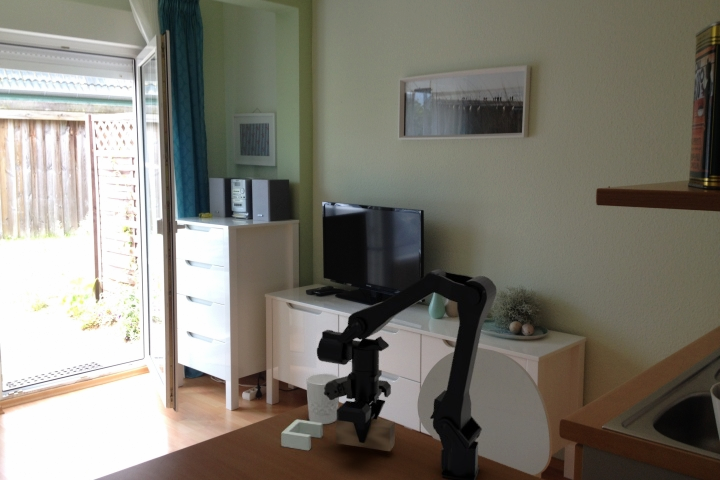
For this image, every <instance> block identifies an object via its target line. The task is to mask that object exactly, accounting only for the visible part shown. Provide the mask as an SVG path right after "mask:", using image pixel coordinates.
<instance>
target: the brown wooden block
mask: <svg viewBox="0 0 720 480" xmlns="http://www.w3.org/2000/svg"><path fill="white" fill-rule="evenodd" d="M395 422H396V421H391V420H384V419H373V421H372V424H371V427H370V429H369V432H368V435H367V438H366V440H365V442H364V443H360V442H359V439H358V436H357V433H356V430H355V426H354V424H353V422H346V421H339V420H336V421H335V443H336V444H340V445H347V446H353V447H360V448H367V449H372V450H373V449H374V450H380V451H385V452H386V451H387V452H391V450H392V449H393V447H394V446H395V443H396V441H395V440H396V439H395V436H396V435H395V434H396V432H395V431H396V430H395V429H396V428H395V427H396V423H395Z"/></svg>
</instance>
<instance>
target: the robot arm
mask: <svg viewBox="0 0 720 480" xmlns="http://www.w3.org/2000/svg"><path fill="white" fill-rule="evenodd" d="M434 293H435V294H438V295H439V296H441V297H443V298H445V299H446V300H449V301H451V302H455V303H456V311H457V316H458V323H459V325H458V331H457V334H456V335H457V336H456V339H455V346H454V352H453V356H452V359H451V366H450V371H449V377H448V381H447V385H446V386H447V387H446V390H443V391H442V392H441V393H439V395H438V396H436V397H435V398H434V400H433V411H432V413H431V416H429V418H430V419H431V420H432V427H433V430H435V432H436V434H437V435H438V436H439V439H440V444H441V446H442V448H441V452H440V470H441V471H442V472H441V477H442V478H446V479H447V478H448V479H452V480H453V479H454V480H476V478H477V476H478V473H479V470H480V465H478V463H479V461H478V460H479V441H476V440H477V439H478V438H479V437H480V435H481V433H482V431H483V428H482V427H481V426H480V424H479V423H478V422H477V421H476V420H475V419H474V417H473V416H472V401H471V395H470V389H471V388H470V387H471V384H472V379H473V374H474V368H475V365H476V364H475V363H476V358H477V354H478V349H479V348H478V347H479V343H480V338H481V333H482V330H483V329H482V328H483V325H484V322H485V320H486V319H487V317H488V315H489V313H490V311H491V308H492V306H493V303H494V301H495V298H496V296H497V287H496V285H495V283H494V282H493V280H492V279H490V278H489V277H487V276H484V275H479V276H471V275H466V274H460V273H453V272H450V271H445V270H442V269H440V268H439V269H434V270H431V271H429V272H427V273H426V274H425V275H424V276H423V277H422V278H419V279H418V280H416V281H415V282H413V283H411V284H410V285H408V286H407V287H404V289H402V290H400V291H398V292H397V293H395V294H393V295H392V296H390V297H389V298H387V299H386V300H384V301H381V302H377V303H375V304H373V305H372V304H371V305H370V306H367V307H364V308H362V309H360V310H357V311H355V312H353V313H351V314H350V315H349V316H348V318H347V326H346V327H345V328H344V329H343V331H342V332H339V331H334V330H331V329H326V330H324V331H322V332H321V338H320V339H319V342H318V345H317V348H316V356H317V359H318V360H319V361H321V362H325V363H330V364H338V365H343V366H344V365H347V364H348V363H349V362H350V361H351V371H350V372H349V374H348V375H346V376H342V377H339V378H338V379H334V380H332V381H329V382H327V383H326V385H325V387H324V389H325V392H324V395H326V396H327V397H328V398H329V400H334V399H335V398H338V397H339V398H342V397H345V396H346V399H348V400H345V401H344V402H343V403H342V405H340V406H338V409H337V420H339V421H346V422H353V424H354V426H355V430H356V433H357V436H358V439H359V442H360V443H364V442H365V440H366V438H367V435H368V432H369V429H370V427H371V424H372V421H373V419H378V418H379V416H380V414H381V411H382V409H383V408H384V405H385V403H386V400H385V399H380V396H381V395H382V394H383V396H384V397H385V398H388V397H389V396H390V395H391V393H392V389H391V388H392V385H391V383H389V382H388V381H387V380H380V379H379V378H380V377H382V373H383V371H382V370H381V369H380V352H382V351H384V350H386V349H387V348H389V346H390V345H389V343H388V342H387V341H385V340H384V339H383V336H379V337H377V338H375V339H372V338H369V337H372V335H375V334H377V333H378V332H380V331H382V329H383V328H385V326H387V325H388V324H389V323H390V322H392V320H393V318H395V317H396V316H397V315H398V314H401V313H402V312H403V311H405V310H407V309H409V308H410V307H412V306H414V305H415V304H417V303H419V302H420V301H423V300H424V299H426V298H427V297H429V296H431V295H433V294H434ZM355 339H358V340H355ZM350 400H353V401H350ZM378 420H379V419H378Z"/></svg>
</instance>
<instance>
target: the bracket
mask: <svg viewBox="0 0 720 480" xmlns="http://www.w3.org/2000/svg"><path fill="white" fill-rule="evenodd" d="M323 426H324V424H323V423H318V422H311V421H310V420H303V419H295V420H294V421H293V422H292V423H291V424H290V425H288V426H287V427H286V428H285V429H283V431H282V432H281V434H280V439H281V442H280V443H281V444H280V446H281V447H285V448H291V449H295V450H297V449H298V450H303V451H310V450H311V448H312V441H311V440H312V438H318V439H322V437H323V436H324V435H323V434H324V433H323V428H324V427H323Z"/></svg>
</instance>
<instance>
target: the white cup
mask: <svg viewBox="0 0 720 480" xmlns="http://www.w3.org/2000/svg"><path fill="white" fill-rule="evenodd" d="M338 378H340V377H339V376H338V375H336V374H333V373H316V374H314V373H313V374H311V375H309V376H307V377H306V395H307V397H306V399H307V409H308V421H311V422H318V423H323V425H328V424H332V423H334V422H335V423H336V420H337V409H338V408H339V399H340V397H338V398H335V399H334V400H329V398H328V397H327V396H326V395H324V392H325V389H324V387H325V385H326V383H327V382H329V381H332V380H334V379H338Z"/></svg>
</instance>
